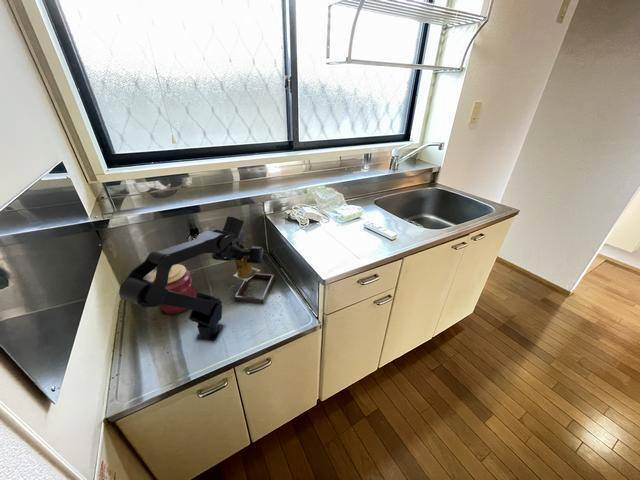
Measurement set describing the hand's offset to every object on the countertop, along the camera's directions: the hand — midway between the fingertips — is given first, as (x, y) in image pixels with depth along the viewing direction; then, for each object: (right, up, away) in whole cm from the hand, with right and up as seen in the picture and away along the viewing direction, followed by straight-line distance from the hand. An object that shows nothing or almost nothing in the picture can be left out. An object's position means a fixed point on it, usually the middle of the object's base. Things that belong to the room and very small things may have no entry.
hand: (245, 257), depth 106 cm
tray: (+3, -13, +3) cm, 14 cm away
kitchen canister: (-25, -17, -4) cm, 30 cm away
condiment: (0, -7, +2) cm, 7 cm away
